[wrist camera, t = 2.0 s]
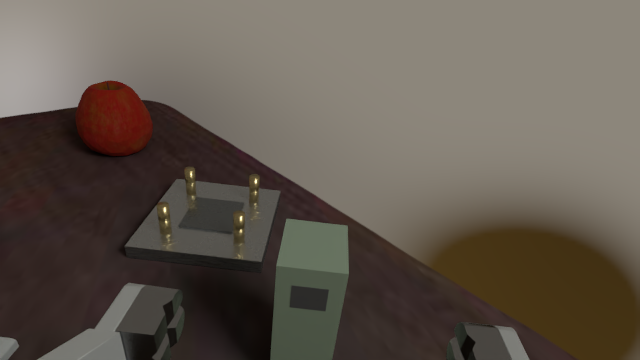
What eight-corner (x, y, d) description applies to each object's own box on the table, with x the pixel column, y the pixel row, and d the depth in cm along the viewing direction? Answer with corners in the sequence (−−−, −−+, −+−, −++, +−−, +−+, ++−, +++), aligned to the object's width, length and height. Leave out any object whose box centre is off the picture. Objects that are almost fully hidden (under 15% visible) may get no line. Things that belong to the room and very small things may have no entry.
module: (268, 381, 29) (276, 266, 23) (278, 327, 33) (286, 218, 28) (326, 388, 29) (348, 274, 23) (328, 333, 33) (347, 225, 28)
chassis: (126, 257, 39) (119, 218, 36) (177, 188, 51) (174, 155, 49) (260, 272, 39) (262, 234, 37) (279, 200, 51) (282, 168, 49)
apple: (92, 133, 63) (79, 70, 57) (159, 134, 65) (152, 74, 60) (73, 162, 54) (55, 91, 49) (150, 161, 57) (141, 94, 51)
